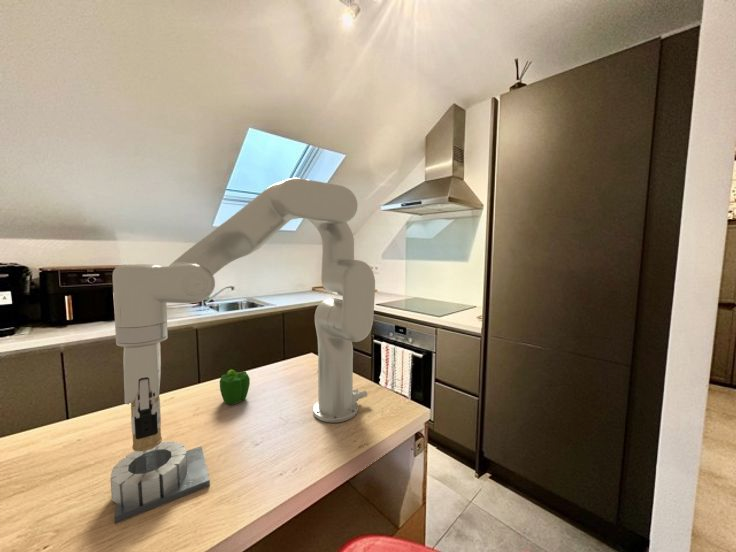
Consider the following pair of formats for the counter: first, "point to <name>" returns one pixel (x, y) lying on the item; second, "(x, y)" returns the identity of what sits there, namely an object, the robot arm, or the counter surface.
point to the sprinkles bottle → (148, 441)
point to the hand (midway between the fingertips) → (147, 427)
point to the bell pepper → (234, 386)
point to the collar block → (156, 478)
